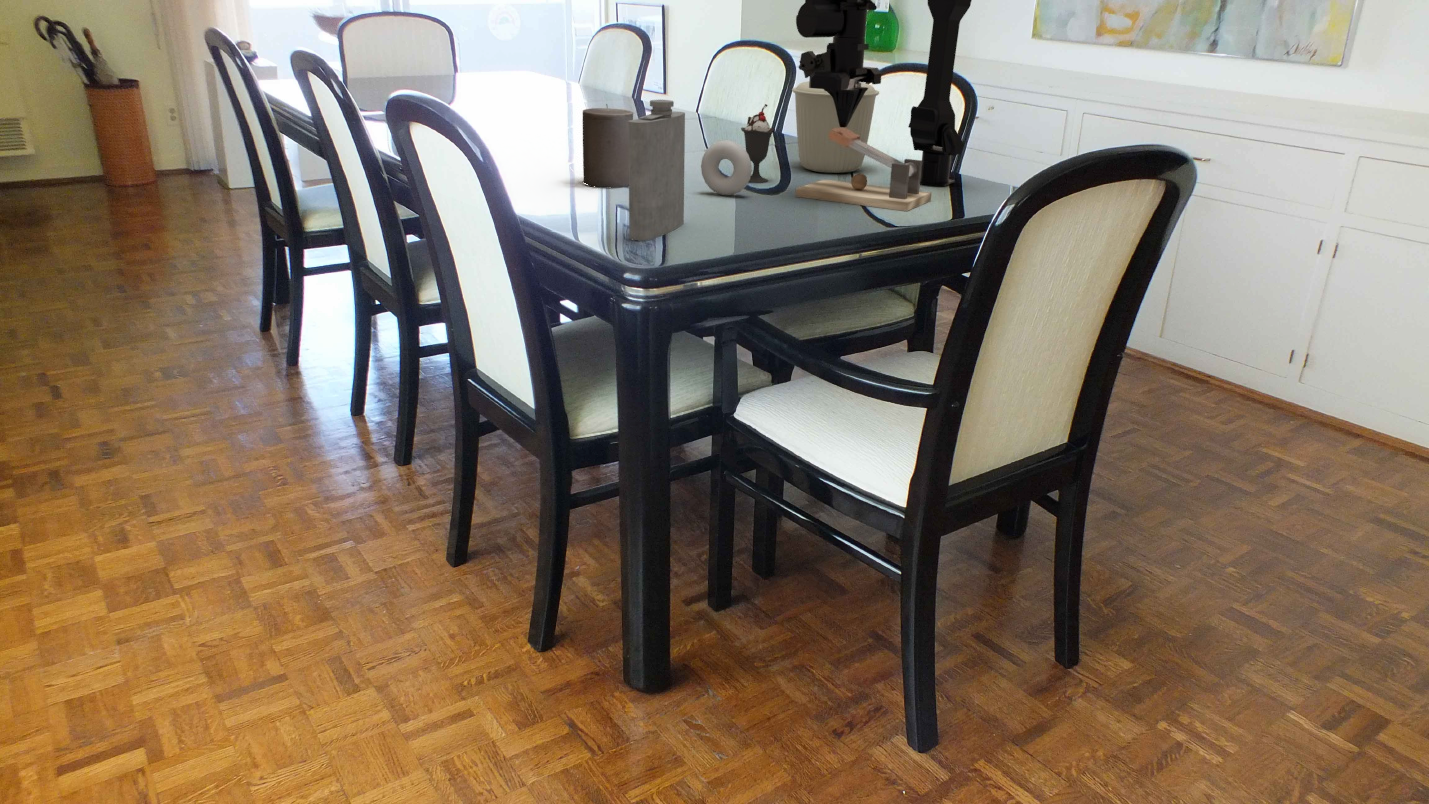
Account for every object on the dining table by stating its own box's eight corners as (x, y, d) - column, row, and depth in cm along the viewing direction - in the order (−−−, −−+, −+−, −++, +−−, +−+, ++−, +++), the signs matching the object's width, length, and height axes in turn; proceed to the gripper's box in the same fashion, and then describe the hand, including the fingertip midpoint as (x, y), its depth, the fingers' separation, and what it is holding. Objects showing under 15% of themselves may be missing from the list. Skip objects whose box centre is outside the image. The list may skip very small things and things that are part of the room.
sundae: (770, 184, 204) (773, 105, 198) (736, 182, 205) (739, 104, 199) (775, 178, 210) (778, 102, 204) (742, 177, 211) (745, 100, 205)
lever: (838, 137, 194) (843, 125, 193) (914, 177, 189) (919, 165, 187) (826, 140, 190) (831, 128, 189) (904, 181, 185) (909, 169, 183)
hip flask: (669, 220, 171) (670, 94, 164) (691, 222, 170) (693, 96, 162) (625, 239, 158) (624, 103, 150) (649, 242, 156) (649, 105, 149)
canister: (773, 165, 226) (777, 63, 218) (844, 161, 233) (851, 63, 225) (815, 179, 211) (821, 70, 203) (889, 174, 218) (898, 69, 210)
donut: (753, 196, 192) (755, 141, 188) (746, 199, 189) (748, 143, 185) (705, 191, 196) (706, 137, 192) (697, 194, 193) (698, 139, 189)
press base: (823, 187, 202) (825, 148, 200) (930, 200, 192) (934, 159, 189) (795, 196, 193) (797, 155, 190) (906, 211, 182) (910, 168, 180)
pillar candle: (573, 185, 198) (572, 104, 192) (597, 177, 207) (597, 99, 201) (619, 190, 195) (619, 108, 189) (641, 182, 203) (642, 103, 198)
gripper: (830, 33, 196) (825, 119, 201) (784, 36, 181) (780, 128, 187) (885, 36, 190) (878, 123, 196) (842, 39, 175) (836, 134, 181)
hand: (843, 127), depth 190 cm, fingers closed
